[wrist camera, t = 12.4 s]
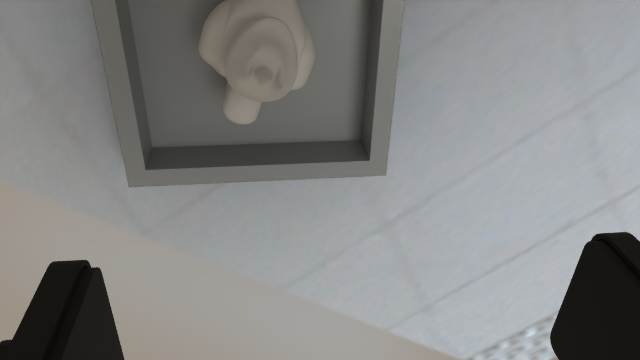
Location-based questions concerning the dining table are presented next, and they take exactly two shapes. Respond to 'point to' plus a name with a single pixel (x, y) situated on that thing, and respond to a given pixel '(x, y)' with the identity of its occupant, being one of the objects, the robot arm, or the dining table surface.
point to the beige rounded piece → (257, 52)
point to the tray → (274, 117)
